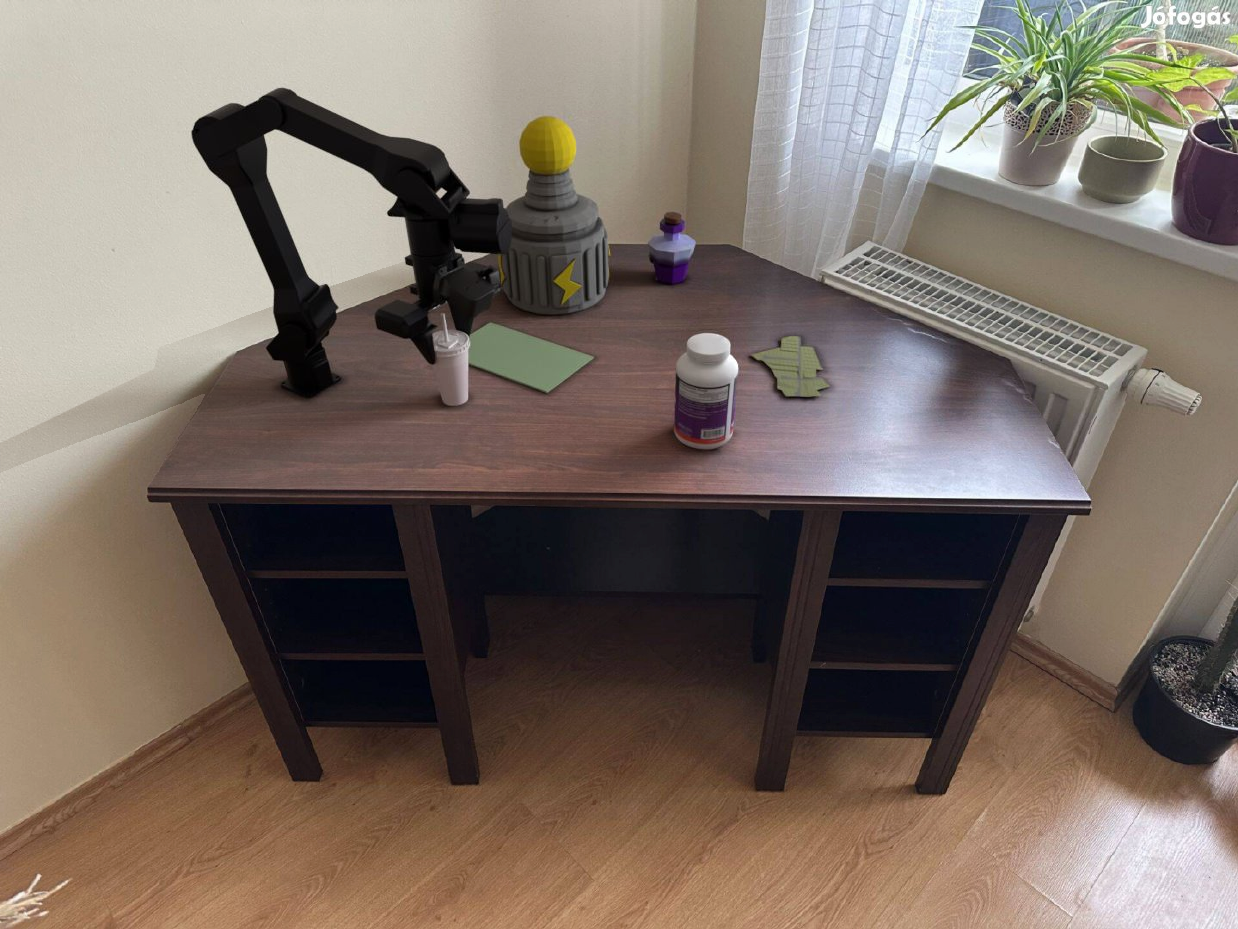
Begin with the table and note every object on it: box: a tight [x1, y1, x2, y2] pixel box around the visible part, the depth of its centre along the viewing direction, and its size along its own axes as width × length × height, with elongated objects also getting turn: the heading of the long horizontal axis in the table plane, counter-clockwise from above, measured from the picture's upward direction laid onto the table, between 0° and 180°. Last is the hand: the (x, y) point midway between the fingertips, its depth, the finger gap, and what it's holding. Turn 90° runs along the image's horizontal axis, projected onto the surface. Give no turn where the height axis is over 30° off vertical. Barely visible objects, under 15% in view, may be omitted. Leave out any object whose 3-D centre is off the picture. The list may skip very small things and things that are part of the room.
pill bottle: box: [673, 332, 739, 450], centre depth 115 cm, size 8×8×14 cm
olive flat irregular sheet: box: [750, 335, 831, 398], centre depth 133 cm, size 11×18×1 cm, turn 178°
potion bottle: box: [647, 211, 697, 286], centre depth 155 cm, size 9×9×12 cm
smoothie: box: [430, 312, 470, 407], centre depth 123 cm, size 6×6×14 cm
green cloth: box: [468, 322, 595, 394], centre depth 136 cm, size 21×12×1 cm, turn 56°
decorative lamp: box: [497, 115, 611, 316], centre depth 145 cm, size 19×19×30 cm
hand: (448, 353), depth 122 cm, fingers closed on smoothie, 6 cm apart
